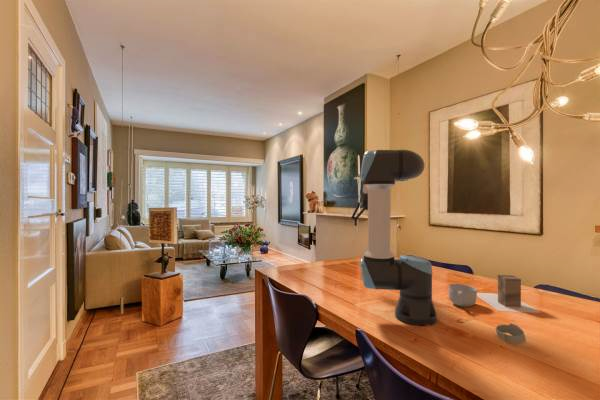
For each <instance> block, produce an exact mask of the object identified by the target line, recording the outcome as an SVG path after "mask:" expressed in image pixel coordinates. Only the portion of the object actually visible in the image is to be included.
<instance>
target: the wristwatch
mask: <svg viewBox="0 0 600 400" xmlns="http://www.w3.org/2000/svg"><path fill="white" fill-rule="evenodd" d="M495 331H496V332H495V333H496V335H497V337H498V338H499V337H500V338H499V339H501V338H502V339H503V340H502V339H501V340H502V341H504V340H505V341H504V342H506V341H508V342H507V343H512V344H524V343H526V342H527V339H526V335H525V331H524V330H523V329H522V328H521V327H520V326H518V325H517V324H513V323H509V324H499V325H497V326H496V327H495Z"/></svg>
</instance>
